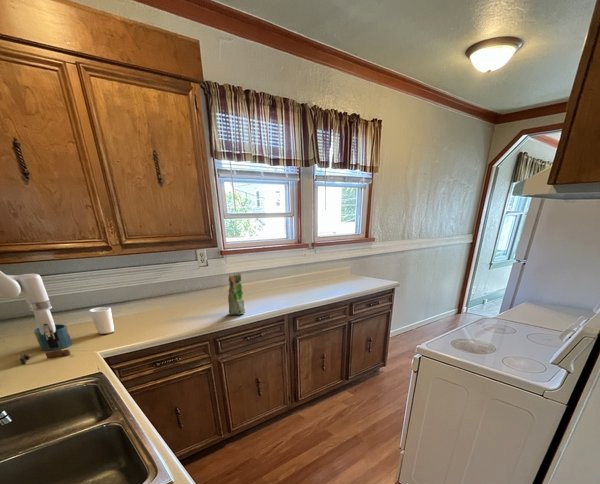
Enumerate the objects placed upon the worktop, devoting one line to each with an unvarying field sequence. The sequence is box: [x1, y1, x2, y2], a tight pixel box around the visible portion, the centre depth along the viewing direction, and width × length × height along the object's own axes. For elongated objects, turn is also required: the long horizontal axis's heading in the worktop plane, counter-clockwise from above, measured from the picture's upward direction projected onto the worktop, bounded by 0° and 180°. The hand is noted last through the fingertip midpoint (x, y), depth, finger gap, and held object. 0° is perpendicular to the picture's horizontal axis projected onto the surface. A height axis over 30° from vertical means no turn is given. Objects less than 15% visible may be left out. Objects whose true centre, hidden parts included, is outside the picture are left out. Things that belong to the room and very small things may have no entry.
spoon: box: [44, 349, 72, 359], centre depth 144 cm, size 9×3×3 cm, turn 122°
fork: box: [19, 353, 31, 366], centre depth 139 cm, size 10×3×3 cm, turn 32°
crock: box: [33, 323, 73, 352], centre depth 154 cm, size 12×12×9 cm
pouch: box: [227, 272, 246, 316], centre depth 202 cm, size 11×12×25 cm
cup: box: [88, 306, 115, 336], centre depth 171 cm, size 10×10×13 cm
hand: (55, 344), depth 142 cm, fingers open, 9 cm apart
